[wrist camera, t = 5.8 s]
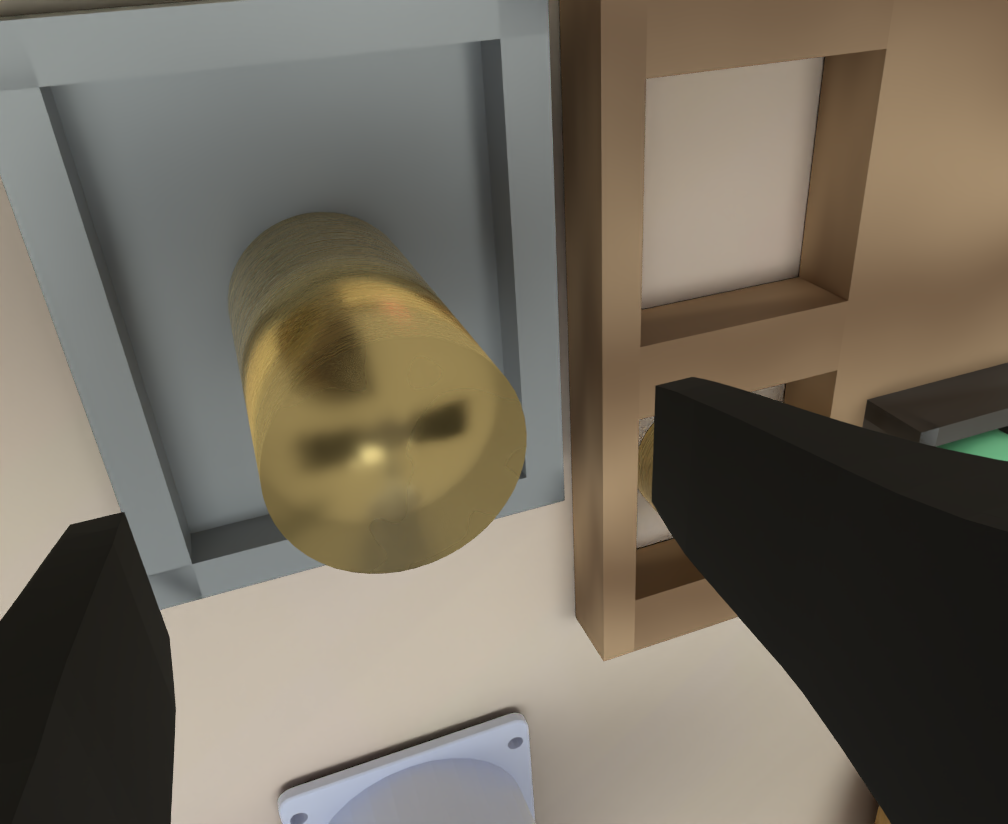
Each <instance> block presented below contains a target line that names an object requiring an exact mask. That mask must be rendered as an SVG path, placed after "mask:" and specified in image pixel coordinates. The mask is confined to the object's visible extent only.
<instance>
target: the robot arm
mask: <svg viewBox="0 0 1008 824" xmlns="http://www.w3.org/2000/svg"><path fill="white" fill-rule="evenodd" d="M652 503H653V505H654V507H655V508H656V510H657V511H658V513H659V515H660V516H661V518H662V520H663V521H664V523H665V525H666V526H667V528H668V529H669V531H670V533H671V534H672V536H673V537H674V539H675V540H676V542H677V543H678V545H679V546H680V548H681V549H682V551H683V552H684V554H685V555H686V556H687V557H688V559H689V560H690V561H691V562H692V563H693V565H694V566H695V567H696V568H697V569H698V571H699V572H700V573H701V574H702V575H703V576H704V578H705V579H706V580H707V581H708V582H709V583H710V585H711V586H712V587H713V588H714V589H715V590H716V592H717V593H718V594H719V595H720V596H721V597H722V599H723V600H724V601H725V602H726V603H727V604H728V605H729V607H730V608H731V609H732V610H733V611H734V612H735V613H736V615H737V616H738V617H739V618H740V619H741V620H742V621H743V623H744V624H745V625H746V626H747V627H748V628H749V629H750V631H751V632H752V633H753V634H754V635H755V636H756V637H757V639H758V640H759V641H760V642H761V643H762V644H763V645H764V647H765V648H766V649H767V650H768V651H769V652H770V653H771V655H772V656H773V657H774V658H775V659H776V660H777V661H778V663H779V664H780V665H781V666H782V667H783V669H784V670H785V671H786V672H787V674H788V675H789V676H790V677H791V679H792V680H793V681H794V682H795V684H796V685H797V686H798V687H799V689H800V690H801V691H802V692H803V694H804V695H805V697H806V698H807V699H808V701H809V702H810V704H811V705H812V707H813V708H814V709H815V711H816V712H817V714H818V715H819V717H820V718H821V719H822V721H823V722H824V724H825V725H826V727H827V728H828V729H829V731H830V732H831V734H832V735H833V736H834V738H835V739H836V741H837V742H838V744H839V745H840V746H841V748H842V749H843V751H844V752H845V754H846V755H847V757H848V758H849V760H850V761H851V763H852V764H853V766H854V767H855V769H856V771H857V772H858V774H859V775H860V777H861V778H862V780H863V781H864V783H865V784H866V786H867V787H868V789H869V790H870V792H871V793H872V795H873V796H874V798H875V799H876V801H877V802H878V804H879V805H880V807H881V809H882V810H883V812H884V813H885V815H886V816H887V818H888V820H889V821H890V823H891V824H1008V461H1003V460H998V459H992V458H987V457H983V456H978V455H973V454H968V453H963V452H958V451H953V450H948V449H943V448H939V447H935V446H930V445H926V444H922V443H918V442H914V441H910V440H906V439H903V438H899V437H895V436H892V435H888V434H884V433H880V432H877V431H873V430H869V429H866V428H862V427H859V426H856V425H852V424H849V423H846V422H842V421H839V420H836V419H832V418H829V417H826V416H823V415H820V414H816V413H813V412H810V411H807V410H804V409H801V408H798V407H795V406H792V405H789V404H785V403H782V402H779V401H776V400H773V399H770V398H767V397H764V396H761V395H758V394H755V393H751V392H748V391H745V390H742V389H739V388H735V387H732V386H729V385H725V384H722V383H718V382H714V381H710V380H706V379H702V378H697V377H689V378H685V379H681V380H677V381H673V382H668V383H664V384H660V385H656V386H655V413H654V443H653V474H652ZM175 715H176V707H175V694H174V681H173V670H172V659H171V649H170V639H169V634H168V632H167V629H166V626H165V623H164V621H163V618H162V615H161V612H160V609H159V607H158V604H157V601H156V598H155V595H154V593H153V590H152V587H151V584H150V582H149V579H148V576H147V573H146V570H145V568H144V565H143V562H142V559H141V557H140V554H139V551H138V548H137V545H136V543H135V540H134V537H133V534H132V531H131V529H130V526H129V523H128V520H127V518H126V515H125V512H122V513H118V514H113V515H109V516H105V517H101V518H97V519H92V520H88V521H84V522H80V523H76V524H71V525H70V526H69V527H68V528H67V530H66V531H65V532H64V534H63V535H62V536H61V538H60V539H59V541H58V542H57V543H56V545H55V546H54V547H53V549H52V550H51V552H50V553H49V554H48V556H47V557H46V558H45V560H44V561H43V563H42V564H41V565H40V567H39V568H38V570H37V571H36V573H35V574H34V575H33V577H32V578H31V580H30V581H29V582H28V584H27V585H26V587H25V588H24V589H23V591H22V592H21V593H20V595H19V596H18V598H17V599H16V600H15V602H14V603H13V605H12V606H11V607H10V609H9V610H8V611H7V613H6V614H5V615H4V617H3V618H2V619H1V621H0V824H171V804H172V784H173V763H174V740H175ZM278 811H279V815H280V818H281V822H282V824H535V811H534V797H533V783H532V769H531V755H530V741H529V727H528V724H527V722H526V720H525V717H524V716H523V715H522V714H520V713H511V714H507V715H504V716H501V717H498V718H496V719H493V720H490V721H487V722H484V723H481V724H478V725H475V726H472V727H469V728H466V729H463V730H460V731H457V732H454V733H451V734H448V735H446V736H443V737H440V738H437V739H434V740H431V741H428V742H425V743H422V744H419V745H416V746H413V747H410V748H407V749H404V750H401V751H398V752H396V753H393V754H390V755H387V756H384V757H381V758H378V759H375V760H372V761H369V762H366V763H363V764H360V765H357V766H354V767H351V768H348V769H345V770H343V771H340V772H337V773H334V774H331V775H328V776H325V777H322V778H319V779H316V780H313V781H310V782H307V783H304V784H301V785H298V786H295V787H293V788H290V789H288V790H286V791H285V792H284V793H282V794H281V795H280V797H279V799H278ZM297 813H298V814H297Z"/></svg>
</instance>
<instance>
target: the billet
mask: <svg viewBox="0 0 1008 824" xmlns="http://www.w3.org/2000/svg"><path fill="white" fill-rule="evenodd" d="M228 312H229V318H230V324H231V329H232V334H233V340H234V345H235V350H236V356H237V361H238V367H239V372H240V377H241V383H242V388H243V393H244V399H245V404H246V409H247V415H248V420H249V425H250V431H251V436H252V441H253V447H254V452H255V457H256V463H257V468H258V473H259V479H260V484H261V489H262V495H263V498H264V501H265V504H266V507H267V510H268V512H269V514H270V516H271V518H272V520H273V522H274V524H275V525H276V527H277V528H278V529H279V530H280V532H281V533H282V534H283V536H284V537H285V538H286V539H287V540H288V541H289V542H290V543H291V544H292V545H293V546H294V547H296V548H297V549H298V550H300V551H301V552H303V553H304V554H305V555H307V556H308V557H310V558H312V559H314V560H316V561H318V562H320V563H322V564H325V565H328V566H331V567H333V568H336V569H341V570H345V571H350V572H357V573H367V574H379V573H392V572H400V571H405V570H409V569H413V568H417V567H420V566H423V565H426V564H429V563H432V562H434V561H437V560H439V559H441V558H443V557H445V556H447V555H449V554H451V553H453V552H454V551H456V550H458V549H460V548H461V547H463V546H464V545H465V544H467V543H468V542H470V541H471V540H472V539H474V538H475V537H476V536H477V535H478V534H480V533H481V532H482V531H483V530H484V529H485V528H486V527H487V526H488V525H489V524H490V523H491V522H492V521H493V520H494V519H495V518H496V516H497V515H498V514H499V512H500V511H501V510H502V508H503V507H504V506H505V504H506V503H507V501H508V499H509V498H510V496H511V494H512V493H513V491H514V489H515V487H516V484H517V482H518V480H519V477H520V474H521V471H522V467H523V464H524V460H525V453H526V446H527V431H526V423H525V417H524V413H523V410H522V406H521V403H520V401H519V399H518V397H517V394H516V392H515V390H514V389H513V387H512V386H511V384H510V383H509V381H508V380H507V378H506V377H505V376H504V375H503V373H502V372H501V371H500V370H499V369H498V367H497V366H496V365H495V364H494V363H493V361H492V360H491V359H490V358H489V357H488V355H487V354H486V353H485V352H484V351H483V350H482V348H481V347H480V346H479V345H478V344H477V342H476V341H475V340H474V339H473V338H472V336H471V335H470V334H469V333H468V332H467V330H466V329H465V328H464V327H463V326H462V324H461V323H460V322H459V321H458V320H457V318H456V317H455V316H454V315H453V314H452V312H451V311H450V310H449V309H448V308H447V306H446V305H445V304H444V303H443V302H442V301H441V299H440V298H439V297H438V296H437V295H436V293H435V292H434V291H433V290H432V289H431V287H430V286H429V285H428V284H427V283H426V281H425V280H424V279H423V278H422V277H421V275H420V274H419V273H418V272H417V271H416V269H415V268H414V267H413V266H412V265H411V263H410V262H409V261H408V260H407V259H406V258H405V256H404V255H403V254H402V253H401V252H400V250H399V249H398V248H397V247H396V246H395V244H394V243H393V242H392V241H391V240H390V239H389V238H388V237H387V236H386V235H385V234H383V233H382V232H381V231H380V230H379V229H377V228H375V227H374V226H372V225H371V224H369V223H367V222H365V221H363V220H361V219H359V218H356V217H353V216H349V215H346V214H341V213H335V212H312V213H305V214H300V215H296V216H293V217H290V218H287V219H285V220H282V221H280V222H278V223H276V224H275V225H273V226H271V227H269V228H268V229H267V230H265V231H264V232H262V233H261V234H260V235H259V236H258V237H257V238H256V239H254V240H253V241H252V242H251V244H250V245H249V246H248V247H247V248H246V250H245V251H244V252H243V254H242V255H241V257H240V259H239V260H238V262H237V264H236V266H235V269H234V271H233V273H232V277H231V281H230V284H229V291H228Z"/></svg>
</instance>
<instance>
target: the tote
mask: <svg viewBox="0 0 1008 824" xmlns="http://www.w3.org/2000/svg"><path fill="white" fill-rule="evenodd" d="M0 176H1V179H2V182H3V185H4V187H5V190H6V193H7V196H8V199H9V201H10V204H11V207H12V210H13V212H14V215H15V218H16V221H17V224H18V226H19V229H20V232H21V235H22V237H23V240H24V243H25V246H26V248H27V251H28V254H29V257H30V260H31V262H32V265H33V268H34V271H35V273H36V276H37V279H38V282H39V285H40V287H41V290H42V293H43V296H44V298H45V301H46V304H47V307H48V309H49V312H50V315H51V318H52V321H53V323H54V326H55V329H56V332H57V334H58V337H59V340H60V343H61V346H62V348H63V351H64V354H65V357H66V359H67V362H68V365H69V368H70V371H71V373H72V376H73V379H74V382H75V384H76V387H77V390H78V393H79V395H80V398H81V401H82V404H83V407H84V409H85V412H86V415H87V418H88V420H89V423H90V426H91V429H92V432H93V434H94V437H95V440H96V443H97V445H98V448H99V451H100V454H101V457H102V459H103V462H104V465H105V468H106V470H107V473H108V476H109V479H110V481H111V484H112V487H113V490H114V493H115V495H116V498H117V501H118V504H119V506H120V509H121V512H125V515H126V518H127V520H128V523H129V526H130V529H131V531H132V534H133V537H134V540H135V543H136V545H137V548H138V551H139V554H140V557H141V559H142V562H143V565H144V568H145V570H146V573H147V576H148V579H149V582H150V584H151V587H152V590H153V593H154V595H155V598H156V601H157V604H158V607H159V609H160V610H162V609H165V608H169V607H173V606H176V605H180V604H184V603H187V602H191V601H195V600H198V599H202V598H206V597H210V596H213V595H217V594H221V593H224V592H228V591H232V590H235V589H239V588H243V587H246V586H250V585H254V584H258V583H261V582H265V581H269V580H272V579H276V578H280V577H283V576H287V575H291V574H294V573H298V572H302V571H306V570H309V569H313V568H317V567H320V566H324V565H325V564H322V563H320V562H318V561H316V560H314V559H312V558H310V557H308V556H307V555H305V554H304V553H303V552H301V551H300V550H298V549H297V548H296V547H294V546H293V545H292V544H291V543H290V542H289V541H288V540H287V539H286V538H285V537H284V536H283V534H282V533H281V532H280V530H279V529H278V528H277V527H276V525H275V524H274V522H273V520H272V518H271V516H270V514H269V512H268V510H267V507H266V504H265V501H264V498H263V495H262V489H261V484H260V479H259V473H258V468H257V463H256V457H255V452H254V447H253V441H252V436H251V431H250V425H249V420H248V415H247V409H246V404H245V399H244V393H243V388H242V383H241V377H240V372H239V367H238V361H237V356H236V350H235V345H234V340H233V334H232V329H231V324H230V318H229V312H228V291H229V284H230V281H231V277H232V273H233V271H234V269H235V266H236V264H237V262H238V260H239V259H240V257H241V255H242V254H243V252H244V251H245V250H246V248H247V247H248V246H249V245H250V244H251V242H252V241H253V240H254V239H256V238H257V237H258V236H259V235H260V234H261V233H262V232H264V231H265V230H267V229H268V228H269V227H271V226H273V225H275V224H276V223H278V222H280V221H282V220H285V219H287V218H290V217H293V216H296V215H300V214H305V213H312V212H335V213H341V214H346V215H349V216H353V217H356V218H359V219H361V220H363V221H365V222H367V223H369V224H371V225H372V226H374V227H375V228H377V229H379V230H380V231H381V232H382V233H383V234H385V235H386V236H387V237H388V238H389V239H390V240H391V241H392V242H393V243H394V244H395V246H396V247H397V248H398V249H399V250H400V252H401V253H402V254H403V255H404V256H405V258H406V259H407V260H408V261H409V262H410V263H411V265H412V266H413V267H414V268H415V269H416V271H417V272H418V273H419V274H420V275H421V277H422V278H423V279H424V280H425V281H426V283H427V284H428V285H429V286H430V287H431V289H432V290H433V291H434V292H435V293H436V295H437V296H438V297H439V298H440V299H441V301H442V302H443V303H444V304H445V305H446V306H447V308H448V309H449V310H450V311H451V312H452V314H453V315H454V316H455V317H456V318H457V320H458V321H459V322H460V323H461V324H462V326H463V327H464V328H465V329H466V330H467V332H468V333H469V334H470V335H471V336H472V338H473V339H474V340H475V341H476V342H477V344H478V345H479V346H480V347H481V348H482V350H483V351H484V352H485V353H486V354H487V355H488V357H489V358H490V359H491V360H492V361H493V363H494V364H495V365H496V366H497V367H498V369H499V370H500V371H501V372H502V373H503V375H504V376H505V377H506V378H507V380H508V381H509V383H510V384H511V386H512V387H513V389H514V390H515V392H516V394H517V397H518V399H519V401H520V403H521V406H522V410H523V413H524V417H525V423H526V431H527V446H526V453H525V460H524V464H523V467H522V471H521V474H520V477H519V480H518V482H517V484H516V487H515V489H514V491H513V493H512V494H511V496H510V498H509V499H508V501H507V503H506V504H505V506H504V507H503V508H502V510H501V511H500V512H499V514H498V515H497V516H496V518H495V519H498V518H501V517H505V516H509V515H512V514H516V513H520V512H523V511H527V510H531V509H534V508H538V507H542V506H546V505H549V504H553V503H557V502H560V501H564V470H563V439H562V409H561V378H560V348H559V317H558V286H557V256H556V225H555V195H554V164H553V134H552V103H551V72H550V42H549V11H548V0H200V1H188V2H175V3H163V4H151V5H139V6H127V7H115V8H103V9H91V10H79V11H67V12H55V13H43V14H31V15H19V16H7V17H0Z"/></svg>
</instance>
